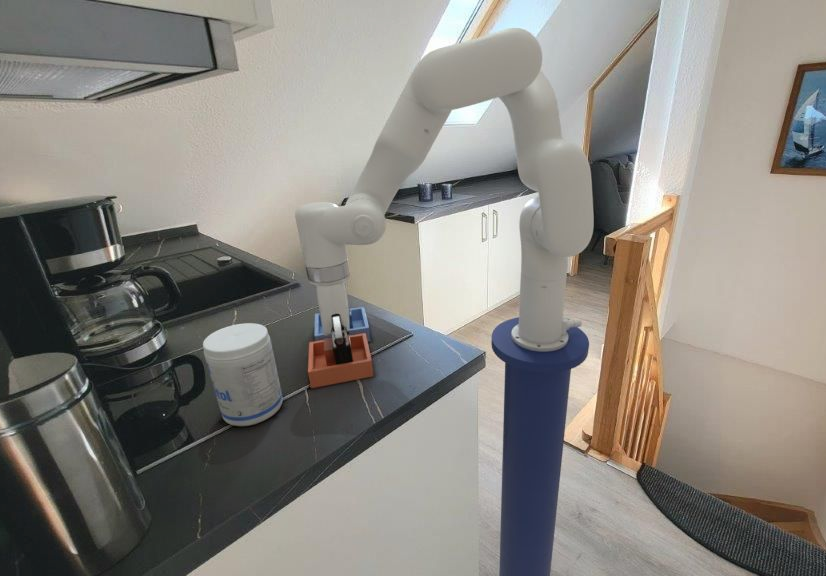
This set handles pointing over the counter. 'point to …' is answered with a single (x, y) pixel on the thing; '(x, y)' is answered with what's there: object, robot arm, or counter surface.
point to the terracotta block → (331, 351)
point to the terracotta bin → (341, 372)
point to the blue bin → (358, 328)
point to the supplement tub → (243, 373)
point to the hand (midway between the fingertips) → (343, 352)
